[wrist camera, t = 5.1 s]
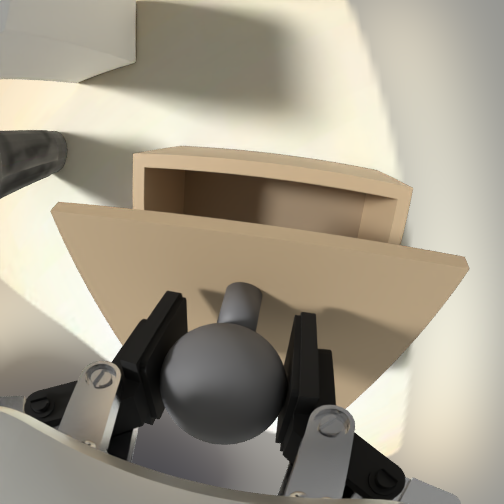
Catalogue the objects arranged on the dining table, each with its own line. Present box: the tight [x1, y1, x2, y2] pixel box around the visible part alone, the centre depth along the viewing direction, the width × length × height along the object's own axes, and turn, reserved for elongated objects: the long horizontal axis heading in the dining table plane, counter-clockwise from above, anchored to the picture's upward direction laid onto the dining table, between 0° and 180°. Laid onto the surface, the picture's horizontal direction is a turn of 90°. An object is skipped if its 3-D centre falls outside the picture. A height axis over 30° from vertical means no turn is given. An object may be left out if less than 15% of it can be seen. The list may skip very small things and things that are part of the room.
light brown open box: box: [133, 146, 413, 245], centre depth 22 cm, size 17×16×8 cm
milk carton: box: [0, 0, 136, 83], centre depth 12 cm, size 7×7×19 cm
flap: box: [51, 202, 469, 445], centre depth 14 cm, size 17×16×6 cm
